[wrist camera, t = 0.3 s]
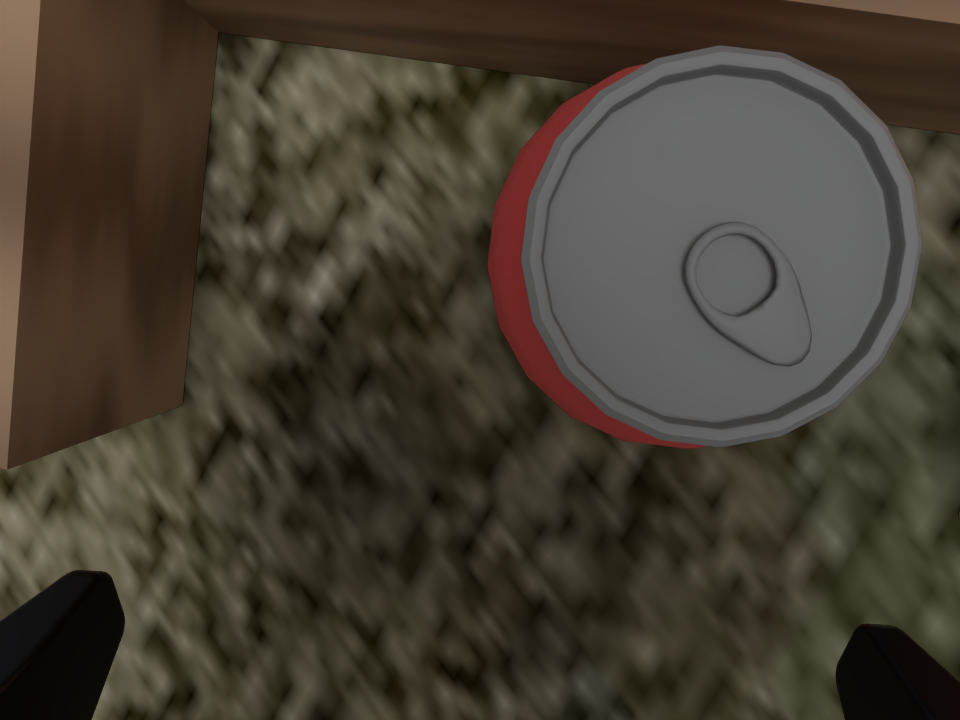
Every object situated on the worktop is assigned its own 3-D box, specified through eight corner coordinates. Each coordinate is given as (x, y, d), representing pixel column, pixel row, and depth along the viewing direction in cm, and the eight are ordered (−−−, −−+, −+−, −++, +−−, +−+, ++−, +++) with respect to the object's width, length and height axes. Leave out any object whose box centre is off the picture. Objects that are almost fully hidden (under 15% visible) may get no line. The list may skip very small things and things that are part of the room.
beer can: (577, 419, 22) (672, 572, 10) (448, 255, 22) (389, 211, 10) (746, 291, 21) (1059, 291, 10) (618, 119, 21) (777, -104, 9)
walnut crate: (989, 520, 22) (1270, 652, 14) (151, 401, 22) (-41, 462, 14) (1081, 108, 21) (1447, -6, 13) (189, -14, 21) (2, -200, 13)
